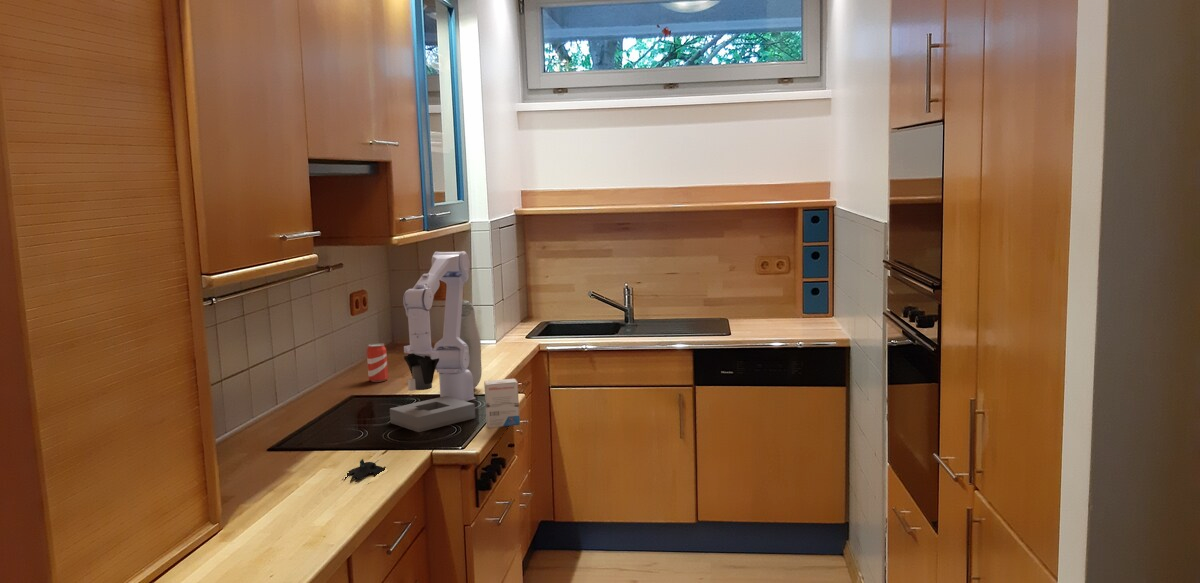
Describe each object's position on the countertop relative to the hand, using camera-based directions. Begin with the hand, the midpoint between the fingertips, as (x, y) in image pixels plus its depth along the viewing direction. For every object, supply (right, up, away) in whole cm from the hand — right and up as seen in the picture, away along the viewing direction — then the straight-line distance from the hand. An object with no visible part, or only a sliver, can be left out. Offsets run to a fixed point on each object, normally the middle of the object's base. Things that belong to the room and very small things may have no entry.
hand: (422, 381), depth 249 cm
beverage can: (-25, -5, +52) cm, 58 cm away
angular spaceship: (-5, -17, -45) cm, 49 cm away
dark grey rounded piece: (0, -2, 0) cm, 2 cm away
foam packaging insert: (+3, -10, 0) cm, 11 cm away
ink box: (+22, -11, -7) cm, 26 cm away
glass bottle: (+7, -6, +35) cm, 36 cm away
